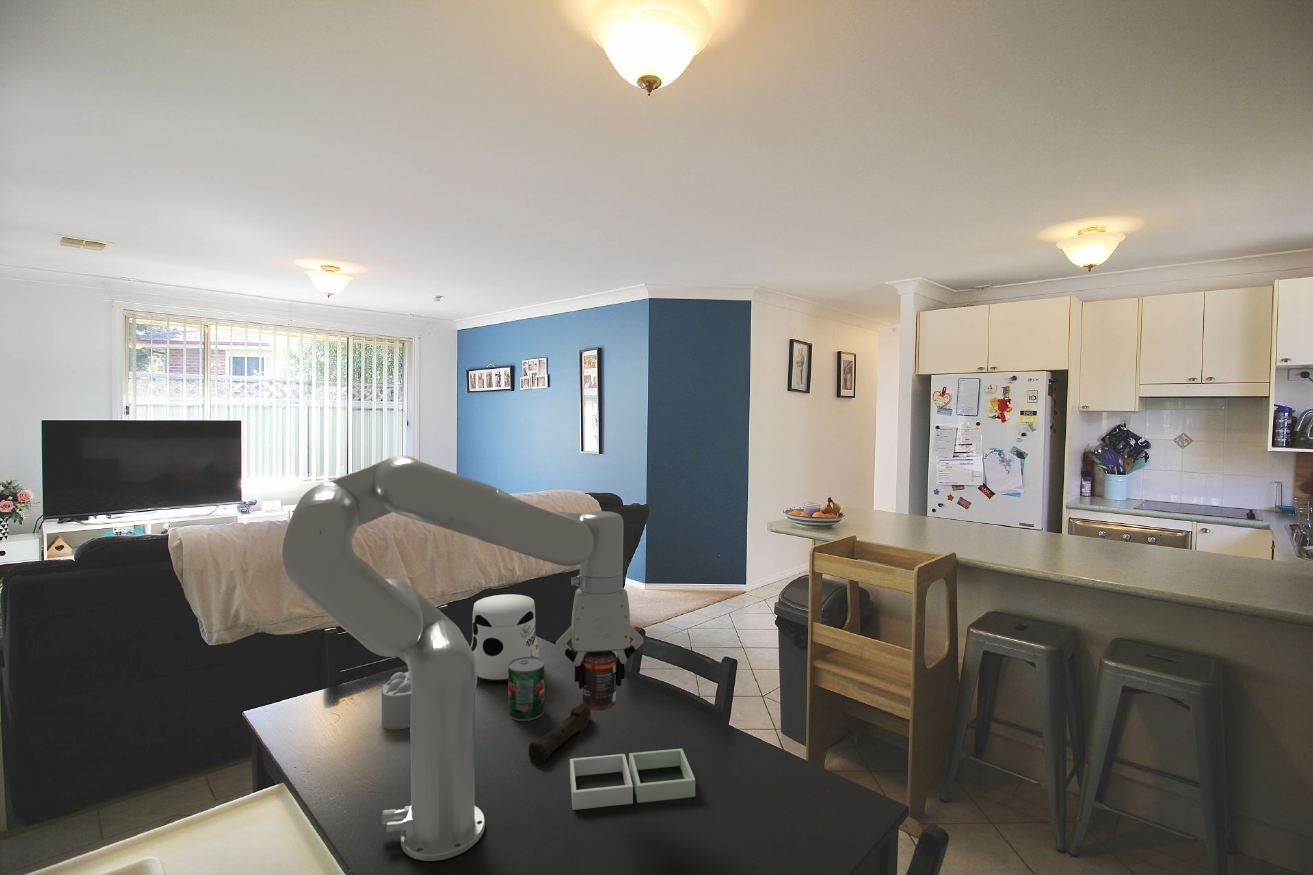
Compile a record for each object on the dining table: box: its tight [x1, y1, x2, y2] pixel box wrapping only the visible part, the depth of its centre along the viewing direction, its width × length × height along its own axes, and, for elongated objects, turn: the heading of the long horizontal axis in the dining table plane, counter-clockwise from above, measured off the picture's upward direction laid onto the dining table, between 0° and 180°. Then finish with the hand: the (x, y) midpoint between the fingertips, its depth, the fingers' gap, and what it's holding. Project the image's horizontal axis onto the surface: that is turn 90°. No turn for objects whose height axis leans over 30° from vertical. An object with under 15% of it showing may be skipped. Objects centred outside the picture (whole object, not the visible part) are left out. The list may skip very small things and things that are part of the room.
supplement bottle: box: [581, 651, 617, 712], centre depth 109 cm, size 6×6×11 cm
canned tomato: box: [507, 657, 545, 722], centre depth 137 cm, size 8×8×11 cm
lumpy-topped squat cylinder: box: [381, 671, 411, 730], centre depth 136 cm, size 10×13×9 cm
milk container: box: [470, 593, 540, 683], centre depth 157 cm, size 17×17×18 cm
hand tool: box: [528, 702, 592, 764], centre depth 126 cm, size 19×4×5 cm, turn 151°
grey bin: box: [569, 753, 634, 811], centre depth 110 cm, size 10×10×3 cm
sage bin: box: [628, 747, 696, 804], centre depth 112 cm, size 10×10×3 cm
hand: (599, 683), depth 109 cm, fingers closed on supplement bottle, 6 cm apart
